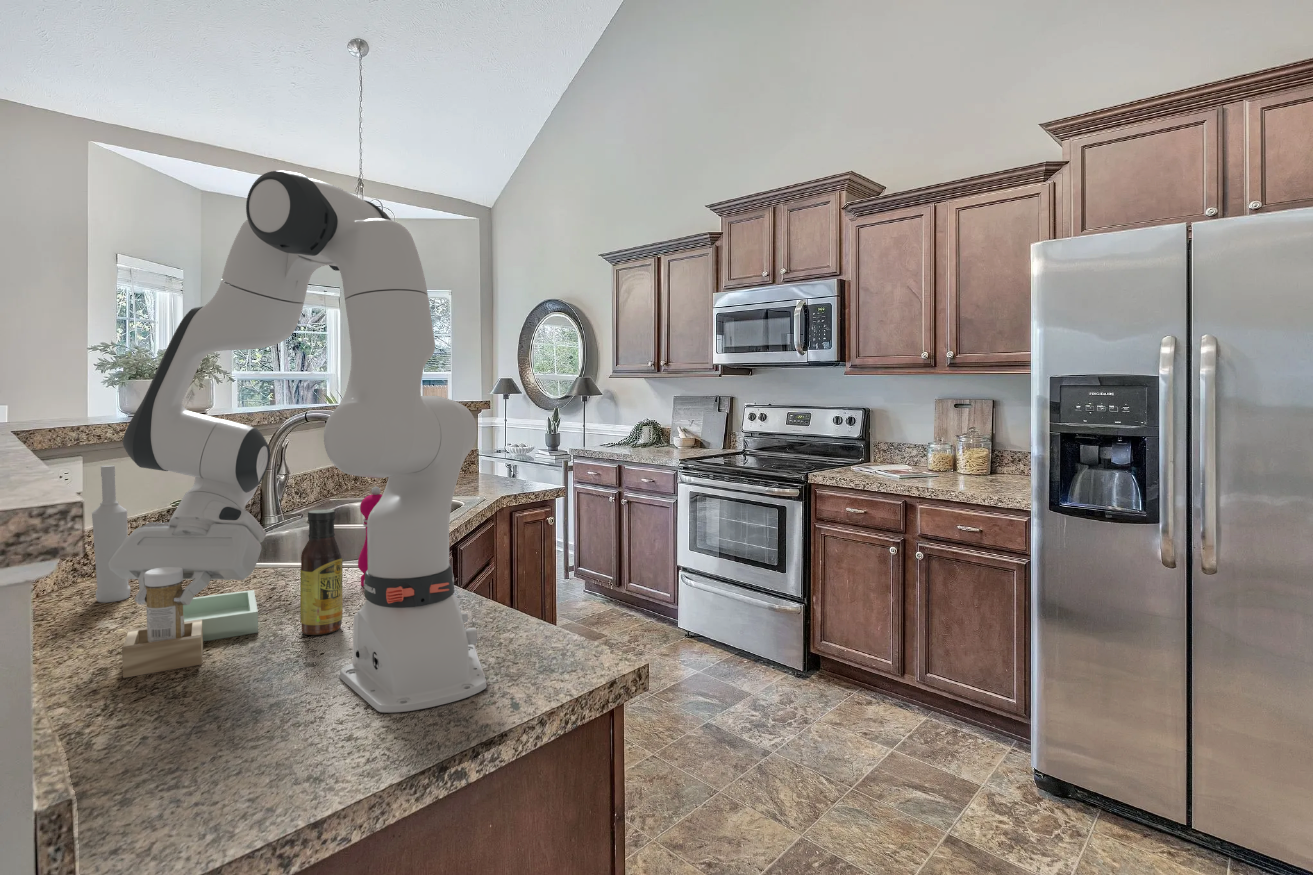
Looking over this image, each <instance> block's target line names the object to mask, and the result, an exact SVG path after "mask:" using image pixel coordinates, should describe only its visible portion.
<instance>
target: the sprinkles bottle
mask: <svg viewBox="0 0 1313 875" xmlns="http://www.w3.org/2000/svg"><path fill="white" fill-rule="evenodd" d="M144 580H145V585H146V590H147V605H146V627H147V634H148V643H150V642H156V641H163V640H170V639H176V638H183V637H184V615H183V605H178V604H177V603H175V602H174V597H175V596H176V595H177V594H176V593H177V591H178V589H183V581H184V580H183V569H182V568H180V567H162V568H156V569H152V570H149V571H147V572H145V574H144Z"/></svg>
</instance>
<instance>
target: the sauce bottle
mask: <svg viewBox="0 0 1313 875" xmlns="http://www.w3.org/2000/svg"><path fill="white" fill-rule="evenodd" d="M335 520H336V511H335V510H334V509H314V510H309V511H308V512H307V521H308V526H309V527H308V541H307V543H306V544H305V545H304V548H303V549H302V551H301V553H300V554H301V555H300V569H299V570H300V573H299V574H300V592H299V593H300V596H299V597H300V600H299V602H300V610H299V611H300V613H299V614H300V619H299V621H300V623H301V633H303V634H304V635H307V636H321V635H328V634H332V633H334V632H337V631H338V630H340V628H341V627H342V620H343V589H344V588H343V587H344V586H343V557H342V556H343V555H342V554H341V551H340V549H339V545H338V543H337V540H336V537H335V536H336V534H335Z"/></svg>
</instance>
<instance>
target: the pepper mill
mask: <svg viewBox="0 0 1313 875" xmlns="http://www.w3.org/2000/svg"><path fill="white" fill-rule="evenodd" d="M370 491H371V494H370V495H367V496H365V497H364V498H363V499H362V500H361V502H360V506H359V509H360V513H361V515H363V517H364V518H363V520H362V521H363V524H362V526H363V527H365V539H364V543H363V545H362V548H361V550H360V553H359V556H358V559H357V560H358V561H357V567H358V569H359V570H360V571H361V573H363V574H362V575H360V585H361V586H362V587H363V588H364V580H365V572H366V571H367V570H368V549H367V521H368V517H369V514H370V512H371V511H372V509H373V508H374V507H375V505H376V504H377V503H378V502H379V500H380V499H381V497H382V495H383V493H382V494H381V491H382V490H381V488H380V487H379V486H374V487H372V488H371V490H370Z"/></svg>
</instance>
